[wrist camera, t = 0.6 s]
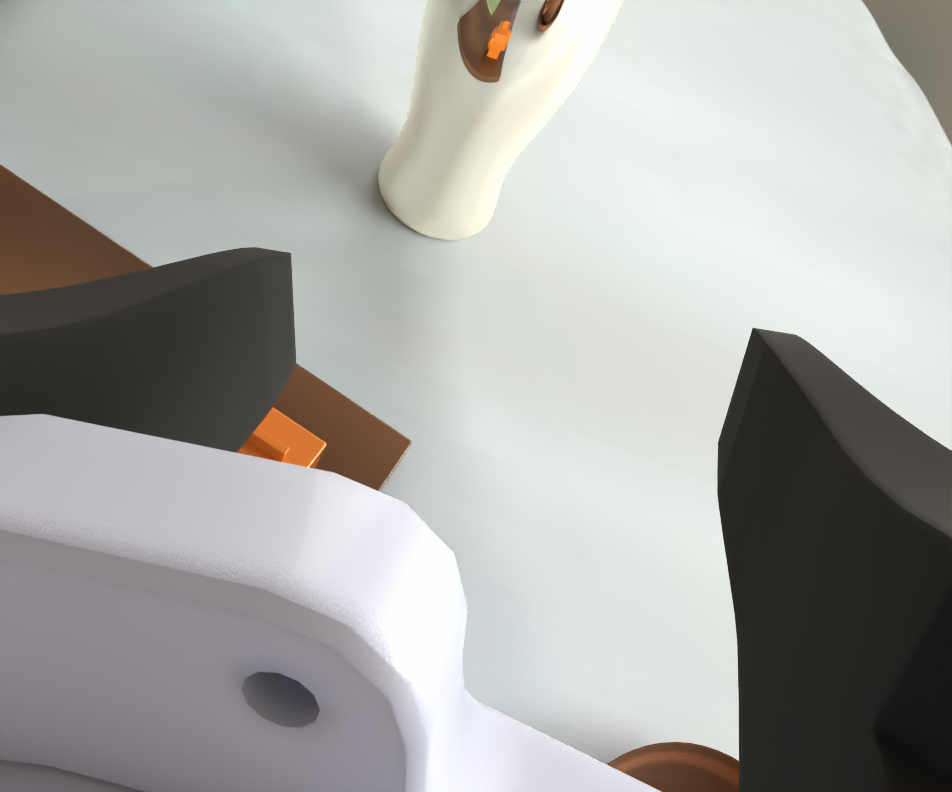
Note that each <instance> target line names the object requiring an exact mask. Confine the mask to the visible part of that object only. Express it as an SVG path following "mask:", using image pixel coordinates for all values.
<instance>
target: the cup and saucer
mask: <svg viewBox="0 0 952 792" xmlns="http://www.w3.org/2000/svg"><path fill="white" fill-rule="evenodd" d="M606 765H608V766H610V767H612V768H614V769H617V770H619V771H621V772H623V773H625V774H627V775H629V776H631V777H633V778H635V779H637V780H639V781H641V782H643V783H645V784H647V785H649V786H651V787H653V788H655V789H657V790H659V791H661V792H739V761H738V760H736V759H735V758H733V757H731V756H729V755H727V754H724V753H722V752H720V751H718V750H715V749H712V748H709V747H706V746H702V745H697V744H692V743H682V742H667V743H658V744H652V745H647V746H644V747H641V748H637V749H634V750H632V751H630V752H628V753H625V754H623V755H621V756H619V757H618V758H616V759H614V760H613V761H611V762H609V763H608V764H606Z"/></svg>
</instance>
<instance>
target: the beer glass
mask: <svg viewBox="0 0 952 792" xmlns="http://www.w3.org/2000/svg"><path fill="white" fill-rule="evenodd" d="M624 1H625V0H426V2H425V7H424V12H423V17H422V23H421V28H420V33H419V40H418V47H417V55H416V62H415V70H414V79H413V87H412V93H411V100H410V106H409V110H408V113H407V117H406V120H405V123H404V125H403V127H402V129H401V131H400V133H399V135H398V136H397V138H396V139H395V141H394V143H393V144H392V145H391V147H390V149H389V150H388V152H387V153H386V155H385V157H384V158H383V160H382V163H381V165H380V168H379V173H378V184H379V189H380V193H381V195H382V198H383V200H384V202H385V203H386V205H387V207H388V208H389V209H390V211H391V212H392V213H393V214H394V215H395V216H396V217H397V218H398V219H399V220H400V221H401V222H403V223H404V224H405V225H407V226H408V227H410V228H411V229H413V230H415V231H417V232H419V233H421V234H423V235H426V236H428V237H432V238H436V239H441V240H461V239H466V238H469V237H472V236H474V235H476V234H478V233H479V232H480V231H482V230H483V229H484V228H485V227H486V226H487V225H488V223H489V222H490V220H491V218H492V216H493V214H494V211H495V208H496V205H497V201H498V197H499V194H500V190H501V187H502V184H503V181H504V178H505V176H506V174H507V172H508V170H509V169H510V167H511V166H512V164H513V163H514V161H515V160H516V158H517V157H518V156H519V155H520V154H521V152H522V151H523V150H524V149H525V147H526V146H527V145H528V144H529V143H530V142H531V141H532V139H533V138H534V137H535V136H536V135H537V134H538V133H539V132H540V130H541V129H542V128H543V127H544V126H545V125H546V124H547V122H548V121H549V120H550V119H551V118H552V117H553V115H554V114H555V113H556V112H557V111H558V110H559V108H560V107H561V106H562V105H563V103H564V102H565V101H566V99H567V98H568V97H569V96H570V94H571V93H572V92H573V90H574V89H575V88H576V86H577V85H578V84H579V82H580V81H581V79H582V78H583V76H584V74H585V73H586V71H587V70H588V68H589V66H590V65H591V63H592V62H593V60H594V59H595V57H596V55H597V54H598V52H599V50H600V48H601V46H602V44H603V42H604V41H605V39H606V37H607V35H608V33H609V31H610V29H611V28H612V26H613V24H614V21H615V19H616V17H617V15H618V13H619V11H620V9H621V7H622V5H623V3H624Z"/></svg>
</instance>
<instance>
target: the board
mask: <svg viewBox="0 0 952 792" xmlns="http://www.w3.org/2000/svg"><path fill="white" fill-rule="evenodd" d="M150 268H154V267H152V266H151V265H149V264H148V263H146V262H145V261H143V260H142V259H140V258H139V257H137V256H136V255H134V254H133V253H131V252H130V251H128V250H127V249H125V248H124V247H122V246H121V245H119V244H118V243H116V242H115V241H113V240H112V239H111V238H109V237H108V236H106V235H105V234H103V233H102V232H100V231H99V230H97V229H96V228H94V227H93V226H91V225H90V224H88V223H87V222H85V221H84V220H82V219H81V218H79V217H78V216H76V215H75V214H73V213H72V212H70V211H69V210H67V209H66V208H64V207H63V206H61V205H60V204H58V203H57V202H55V201H54V200H53V199H51V198H50V197H48V196H47V195H45V194H44V193H42V192H41V191H39V190H38V189H36V188H35V187H33V186H32V185H30V184H29V183H27V182H26V181H24V180H23V179H21V178H20V177H18V176H17V175H15V174H14V173H12V172H11V171H9V170H8V169H6V168H5V167H3V166H2V165H0V295H6V294H15V293H22V292H30V291H37V290H45V289H51V288H58V287H64V286H70V285H75V284H81V283H86V282H90V281H95V280H100V279H104V278H109V277H114V276H118V275H123V274H128V273H132V272H137V271H141V270H146V269H150ZM273 408H275V409H276V410H278V411H279V412H281V413H282V414H284V415H285V416H287V417H288V418H290V419H291V420H293V421H294V422H296V423H297V424H299V425H300V426H302V427H303V428H305V429H306V430H308V431H309V432H311V433H312V434H314V435H315V436H317V437H318V438H320V439H321V440H323V441H324V442H325V443H326V447H325V449H324V451H323V453H322V455H321V458H320V460H319V462H318V464H317V466H316V469H319V470H324V471H329V472H334V473H336V474H339V475H341V476H344V477H346V478H348V479H351V480H353V481H355V482H358V483H360V484H362V485H365V486H367V487H370V488H372V489H374V490H377V491H380V490H381V488H382V487H383V485H384V484H385V482H386V481H387V479H388V478H389V476H390V475H391V473H392V472H393V470H394V469H395V467H396V466H397V464H398V463H399V461H400V460H401V459H402V457H403V456H404V454H405V453H406V451H407V450H408V448H409V447H410V445H411V444H412V441H411V440H409V439H408V438H406V437H405V436H404V435H402V434H401V433H399V432H398V431H396V430H395V429H393V428H392V427H390V426H389V425H387V424H386V423H384V422H383V421H381V420H380V419H378V418H377V417H375V416H374V415H372V414H371V413H369V412H368V411H366V410H365V409H363V408H362V407H360V406H359V405H357V404H356V403H354V402H353V401H351V400H350V399H348V398H347V397H346V396H344V395H343V394H341V393H340V392H338V391H337V390H335V389H334V388H332V387H331V386H329V385H328V384H326V383H325V382H323V381H322V380H320V379H319V378H317V377H316V376H314V375H313V374H311V373H310V372H308V371H307V370H305V369H304V368H302V367H301V366H299V365H298V364H296V366H295V368H294V370H293V372H292V374H291V376H290V378H289V380H288V381H287V383H286V385H285V387H284V389H283V391H282V392H281V394H280V396H279V397H278V399H277V401H276V402H275V404H274V406H273Z"/></svg>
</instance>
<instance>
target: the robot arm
mask: <svg viewBox="0 0 952 792" xmlns="http://www.w3.org/2000/svg"><path fill="white" fill-rule="evenodd" d="M295 366H296V350H295V330H294V309H293V288H292V267H291V253H287V252H280V251H274V250H268V249H262V248H256V247H254V248H239V249H233V250H227V251H222V252H217V253H212V254H208V255H203V256H199V257H195V258H191V259H187V260H183V261H179V262H174V263H170V264H166V265H162V266H158V267H154V268H150V269H146V270H141V271H137V272H132V273H128V274H123V275H118V276H114V277H109V278H104V279H100V280H95V281H90V282H86V283H81V284H75V285H70V286H64V287H58V288H51V289H45V290H37V291H30V292H22V293H15V294H6V295H0V792H661V791H659V790H657V789H655V788H653V787H651V786H649V785H647V784H645V783H643V782H641V781H639V780H637V779H635V778H633V777H631V776H629V775H627V774H625V773H623V772H621V771H619V770H617V769H614V768H612V767H610V766H608V765H606V764H604V763H602V762H600V761H598V760H596V759H594V758H592V757H590V756H588V755H586V754H584V753H582V752H580V751H578V750H576V749H574V748H572V747H570V746H568V745H566V744H564V743H562V742H560V741H558V740H556V739H554V738H552V737H549V736H547V735H545V734H543V733H541V732H539V731H537V730H535V729H533V728H531V727H529V726H527V725H525V724H523V723H521V722H519V721H517V720H515V719H513V718H511V717H509V716H507V715H505V714H503V713H501V712H499V711H497V710H495V709H493V708H491V707H489V706H487V705H485V704H482V703H480V702H478V701H476V700H475V699H474V698H473V697H472V696H471V695H470V694H469V693H468V692H467V690H466V688H465V686H464V680H463V668H462V656H463V647H464V637H465V628H466V619H467V609H468V608H467V604H466V600H465V596H464V592H463V588H462V584H461V580H460V576H459V572H458V567H457V563H456V559H455V555H454V553H453V552H452V551H451V550H450V549H449V548H448V547H447V546H446V545H445V544H444V543H443V542H442V541H441V540H440V539H439V537H438V536H437V535H436V534H435V533H434V532H433V531H432V530H431V529H430V528H429V527H428V526H427V525H426V524H425V523H424V522H423V521H422V520H421V519H420V518H419V517H418V516H417V514H416V513H415V512H414V511H413V510H412V509H411V508H410V507H409V506H408V505H407V504H406V503H405V502H403V501H400V500H398V499H395V498H393V497H391V496H388V495H386V494H384V493H381V492H379V491H377V490H374V489H372V488H370V487H367V486H365V485H362V484H360V483H358V482H355V481H353V480H351V479H348V478H346V477H344V476H341V475H339V474H336V473H334V472H329V471H324V470H319V469H314V468H309V467H304V466H299V465H294V464H289V463H284V462H279V461H274V460H269V459H264V458H259V457H254V456H249V455H244V454H239V453H237V452H238V451H239V450H240V448H241V447H242V446H243V445H244V443H245V442H246V441H247V440H248V438H249V437H250V436H251V435H252V433H253V432H254V431H255V430H256V428H257V427H258V426H259V425H260V423H261V422H262V421H263V420H264V418H265V417H266V416H267V414H268V413H269V412H270V410H271V409H272V407H273V406H274V404H275V402H276V401H277V399H278V397H279V396H280V394H281V392H282V391H283V389H284V387H285V385H286V383H287V381H288V380H289V378H290V376H291V374H292V372H293V370H294V368H295ZM718 502H719V510H720V517H721V524H722V531H723V538H724V545H725V552H726V558H727V565H728V572H729V579H730V585H731V592H732V599H733V605H734V612H735V622H736V632H737V645H738V686H739V792H952V451H951V450H949V449H948V448H946V447H945V446H943V445H941V444H940V443H938V442H937V441H935V440H934V439H932V438H931V437H929V436H928V435H926V434H925V433H923V432H922V431H921V430H919V429H918V428H916V427H915V426H914V425H912V424H911V423H909V422H908V421H907V420H905V419H904V418H902V417H901V416H900V415H898V414H897V413H895V412H894V411H893V410H891V409H890V408H889V407H887V406H886V405H885V404H884V403H882V402H881V401H880V400H878V399H877V398H876V397H875V396H873V395H872V394H871V393H869V392H868V391H867V390H866V389H865V388H863V387H862V386H861V385H860V384H858V383H857V382H856V381H855V380H853V379H852V378H851V377H850V376H849V375H847V374H846V373H845V372H844V371H843V370H841V369H840V368H839V367H838V366H837V365H836V364H834V363H833V362H832V361H831V360H830V359H828V358H827V357H826V356H825V355H823V354H822V353H821V352H820V351H819V350H817V349H816V348H815V347H814V346H812V345H811V344H810V343H808V342H807V341H805V340H804V339H802V338H801V337H799V336H797V335H793V334H787V333H781V332H775V331H769V330H763V329H756V328H753V329H752V332H751V336H750V339H749V342H748V346H747V349H746V352H745V356H744V359H743V362H742V365H741V369H740V372H739V375H738V379H737V382H736V385H735V389H734V392H733V395H732V399H731V402H730V405H729V408H728V412H727V415H726V418H725V422H724V425H723V428H722V432H721V435H720V438H719V442H718Z"/></svg>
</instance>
